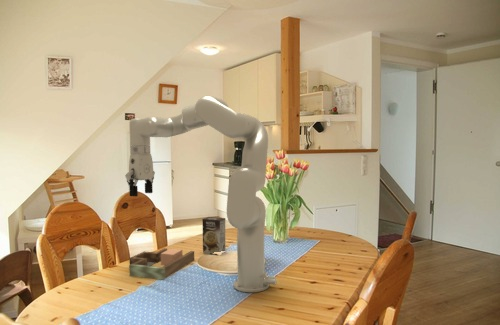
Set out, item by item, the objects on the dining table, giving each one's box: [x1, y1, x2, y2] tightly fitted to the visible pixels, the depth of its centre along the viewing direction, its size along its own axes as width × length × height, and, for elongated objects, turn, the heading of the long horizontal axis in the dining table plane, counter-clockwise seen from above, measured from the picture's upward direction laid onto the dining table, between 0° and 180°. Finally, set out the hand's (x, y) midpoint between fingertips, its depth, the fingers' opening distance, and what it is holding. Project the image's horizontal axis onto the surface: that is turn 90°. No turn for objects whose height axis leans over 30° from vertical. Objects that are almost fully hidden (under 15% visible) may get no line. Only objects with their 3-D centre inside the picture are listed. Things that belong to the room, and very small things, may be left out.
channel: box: [128, 248, 195, 280], centre depth 152 cm, size 21×24×4 cm
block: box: [160, 248, 184, 266], centre depth 157 cm, size 6×8×5 cm
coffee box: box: [202, 216, 227, 255], centre depth 171 cm, size 9×6×16 cm
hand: (141, 194), depth 143 cm, fingers open, 9 cm apart
